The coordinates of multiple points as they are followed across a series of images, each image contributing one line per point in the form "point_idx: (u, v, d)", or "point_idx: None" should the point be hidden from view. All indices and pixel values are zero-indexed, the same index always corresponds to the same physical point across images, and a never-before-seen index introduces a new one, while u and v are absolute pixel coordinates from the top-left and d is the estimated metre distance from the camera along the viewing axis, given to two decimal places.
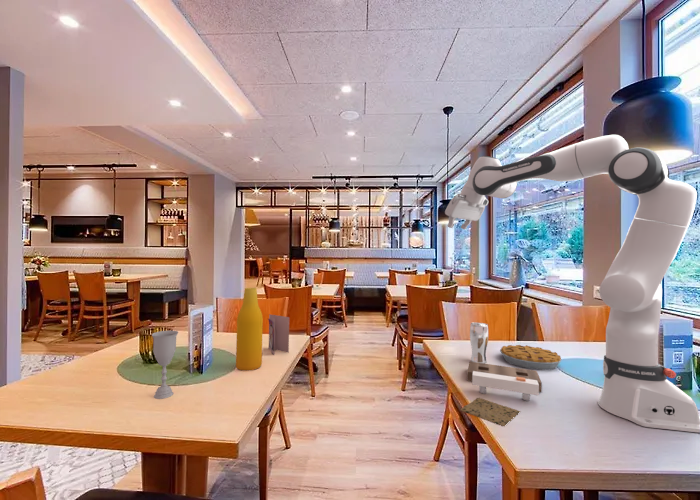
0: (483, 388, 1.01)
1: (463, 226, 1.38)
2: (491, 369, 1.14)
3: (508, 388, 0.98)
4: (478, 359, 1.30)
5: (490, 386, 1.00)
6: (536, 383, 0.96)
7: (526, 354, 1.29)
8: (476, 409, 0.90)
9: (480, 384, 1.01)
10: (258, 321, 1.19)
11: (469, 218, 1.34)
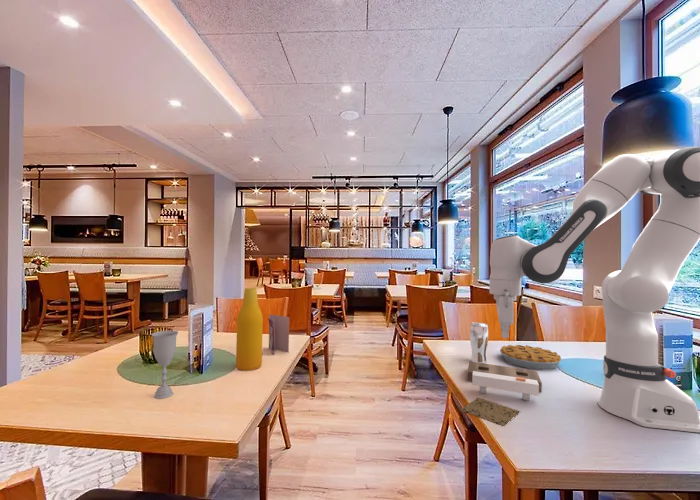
0: (483, 388, 1.01)
1: None
2: (491, 369, 1.14)
3: (508, 388, 0.98)
4: (478, 359, 1.30)
5: (490, 386, 1.00)
6: (536, 383, 0.96)
7: (526, 354, 1.29)
8: (476, 409, 0.90)
9: (480, 384, 1.01)
10: (258, 321, 1.19)
11: None
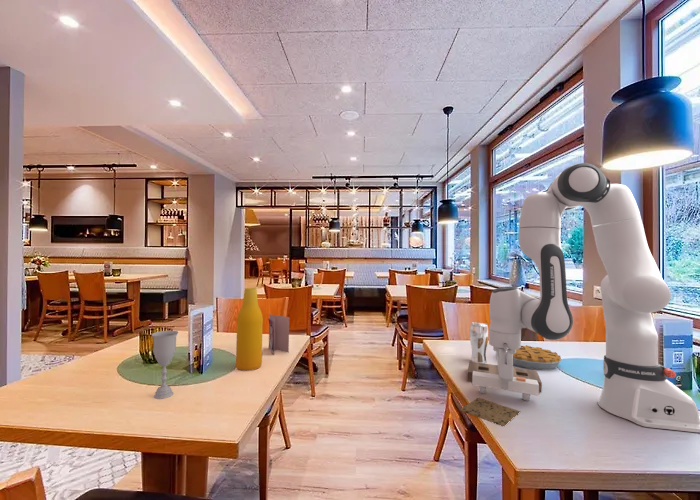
0: (483, 388, 1.01)
1: None
2: (491, 369, 1.14)
3: (508, 388, 0.98)
4: (478, 359, 1.30)
5: (490, 386, 1.00)
6: (536, 383, 0.96)
7: (526, 354, 1.29)
8: (476, 409, 0.90)
9: (480, 384, 1.01)
10: (258, 321, 1.19)
11: None
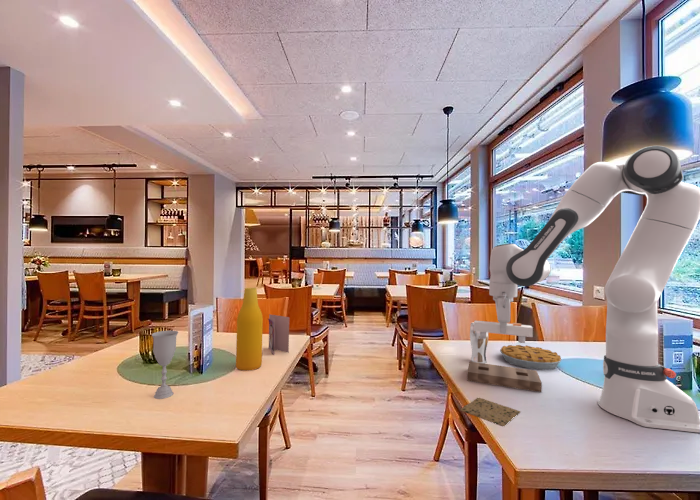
0: (484, 334, 1.15)
1: None
2: (491, 369, 1.14)
3: (506, 332, 1.11)
4: (478, 359, 1.30)
5: (490, 331, 1.13)
6: (530, 327, 1.09)
7: (526, 354, 1.29)
8: (476, 409, 0.90)
9: (481, 330, 1.14)
10: (258, 321, 1.19)
11: None
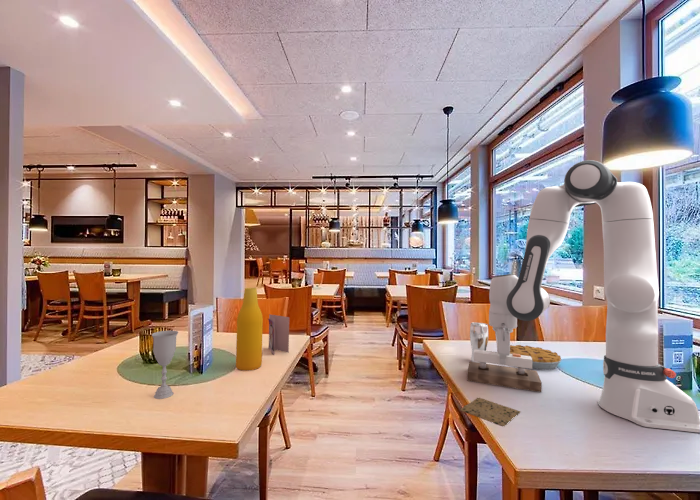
0: (483, 364, 1.14)
1: None
2: (491, 369, 1.14)
3: None
4: None
5: (489, 362, 1.13)
6: (530, 358, 1.09)
7: (526, 354, 1.29)
8: (476, 409, 0.90)
9: (480, 360, 1.14)
10: (258, 321, 1.19)
11: None
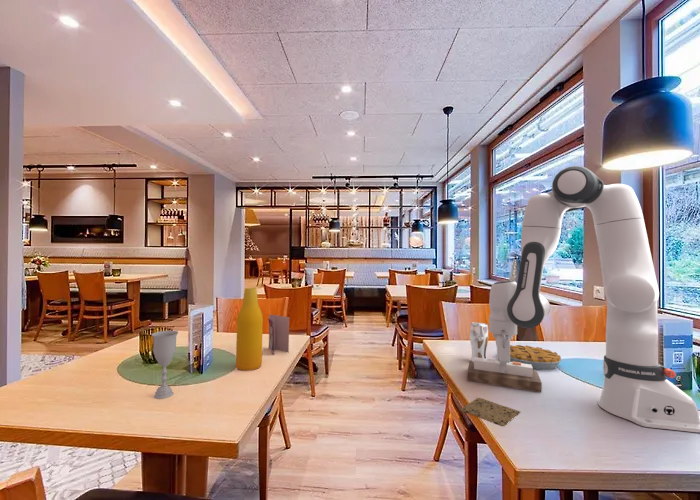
0: None
1: None
2: None
3: (506, 371, 1.11)
4: None
5: (490, 370, 1.13)
6: (530, 366, 1.09)
7: (526, 354, 1.29)
8: (476, 409, 0.90)
9: (481, 368, 1.14)
10: (258, 321, 1.19)
11: None
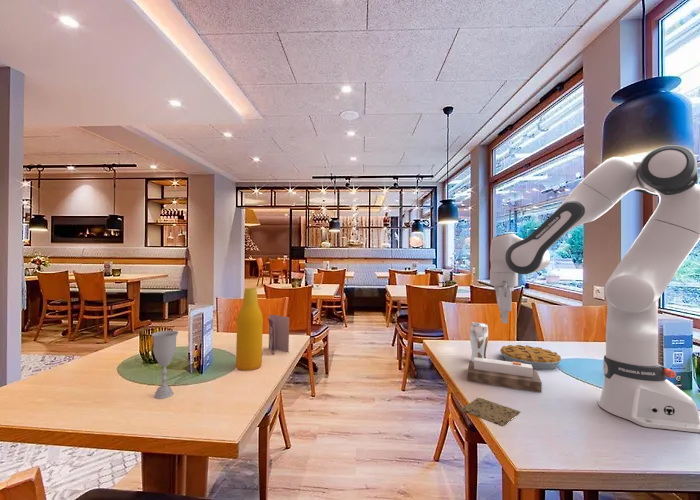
0: None
1: None
2: None
3: (506, 371, 1.11)
4: None
5: (490, 370, 1.13)
6: (530, 366, 1.09)
7: (526, 354, 1.29)
8: (476, 409, 0.90)
9: (481, 368, 1.14)
10: (258, 321, 1.19)
11: None
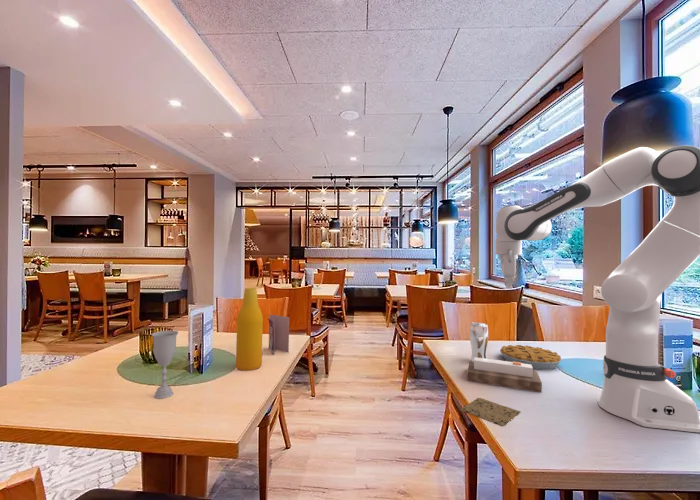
0: None
1: None
2: None
3: (506, 371, 1.11)
4: None
5: (490, 370, 1.13)
6: (530, 366, 1.09)
7: (526, 354, 1.29)
8: (476, 409, 0.90)
9: (481, 368, 1.14)
10: (258, 321, 1.19)
11: None
